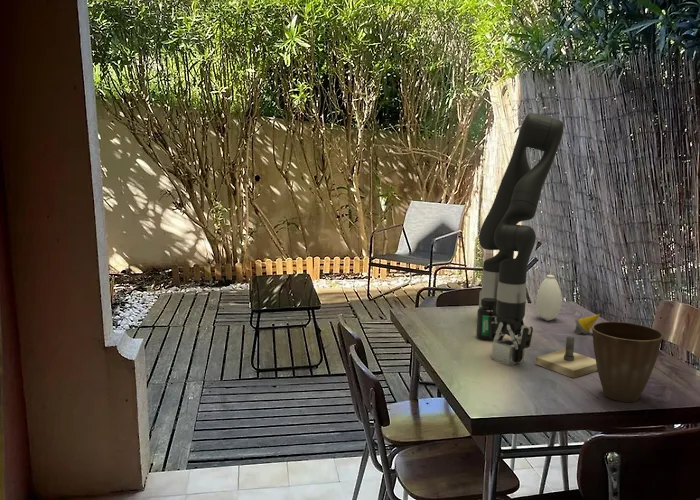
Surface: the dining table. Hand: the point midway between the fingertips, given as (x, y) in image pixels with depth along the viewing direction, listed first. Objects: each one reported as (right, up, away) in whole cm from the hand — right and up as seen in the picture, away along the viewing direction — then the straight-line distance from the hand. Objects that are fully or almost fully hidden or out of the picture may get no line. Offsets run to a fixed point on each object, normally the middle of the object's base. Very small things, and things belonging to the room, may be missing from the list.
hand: (507, 357), depth 166 cm
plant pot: (+21, -5, -23) cm, 31 cm away
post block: (+15, -2, -4) cm, 16 cm away
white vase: (+24, +6, +40) cm, 46 cm away
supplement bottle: (-1, +2, +19) cm, 20 cm away
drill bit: (+31, +3, +25) cm, 40 cm away
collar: (0, -1, 0) cm, 1 cm away
